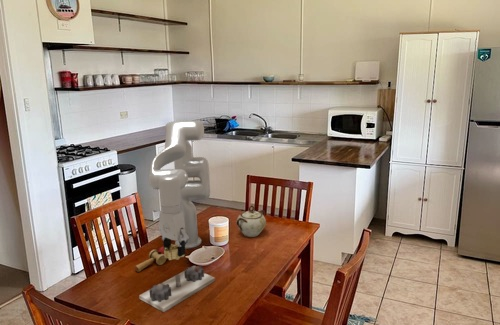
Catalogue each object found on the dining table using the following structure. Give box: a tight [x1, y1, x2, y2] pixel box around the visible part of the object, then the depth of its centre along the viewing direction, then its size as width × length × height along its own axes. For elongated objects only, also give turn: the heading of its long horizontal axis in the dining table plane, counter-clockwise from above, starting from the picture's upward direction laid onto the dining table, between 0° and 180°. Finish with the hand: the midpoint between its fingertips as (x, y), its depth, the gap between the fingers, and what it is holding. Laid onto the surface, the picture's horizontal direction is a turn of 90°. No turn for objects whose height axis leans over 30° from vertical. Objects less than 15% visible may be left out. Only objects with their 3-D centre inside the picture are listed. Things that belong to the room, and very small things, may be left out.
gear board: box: [138, 265, 216, 313], centre depth 152 cm, size 14×26×6 cm, turn 141°
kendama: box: [134, 246, 169, 273], centre depth 174 cm, size 8×6×18 cm
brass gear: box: [164, 243, 186, 261], centre depth 149 cm, size 7×7×3 cm
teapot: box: [236, 205, 267, 238], centre depth 201 cm, size 20×15×15 cm
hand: (174, 251), depth 150 cm, fingers closed on brass gear, 7 cm apart
